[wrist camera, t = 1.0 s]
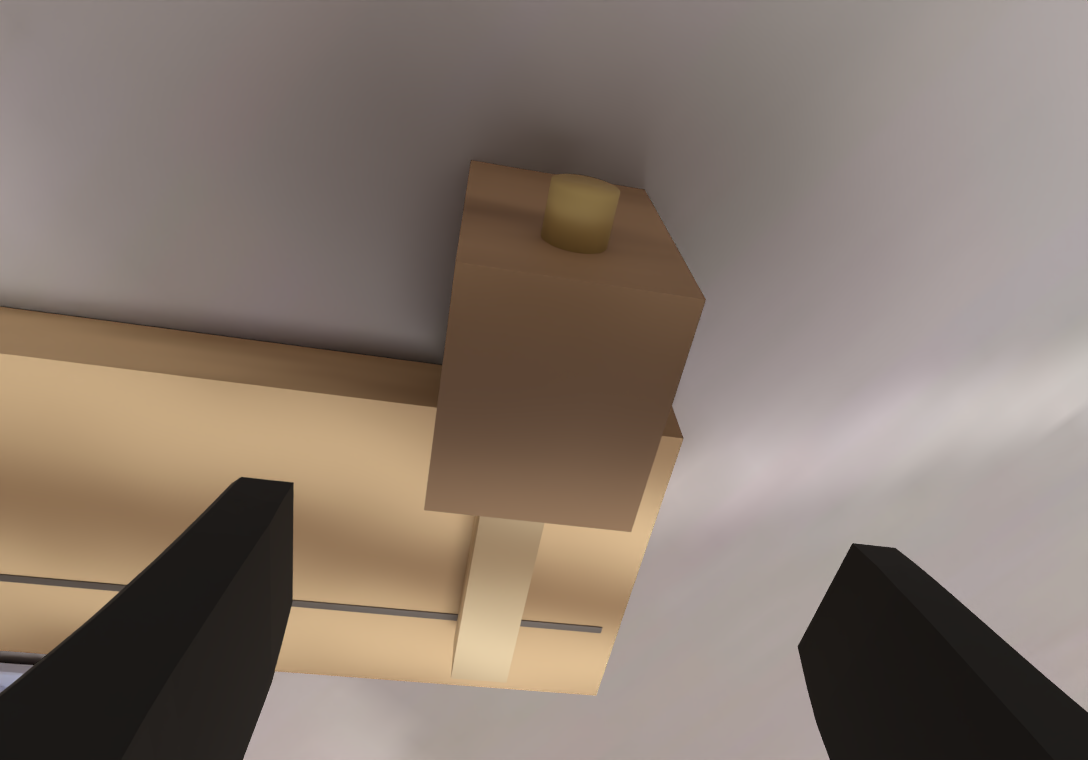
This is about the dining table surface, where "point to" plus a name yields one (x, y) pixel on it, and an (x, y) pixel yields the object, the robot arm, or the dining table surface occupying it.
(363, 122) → the dining table surface
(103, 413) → the board
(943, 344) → the dining table surface
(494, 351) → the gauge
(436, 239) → the dining table surface
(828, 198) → the dining table surface
